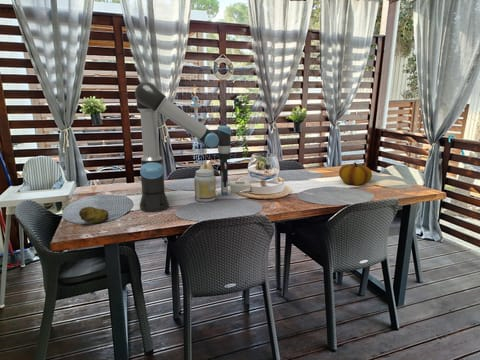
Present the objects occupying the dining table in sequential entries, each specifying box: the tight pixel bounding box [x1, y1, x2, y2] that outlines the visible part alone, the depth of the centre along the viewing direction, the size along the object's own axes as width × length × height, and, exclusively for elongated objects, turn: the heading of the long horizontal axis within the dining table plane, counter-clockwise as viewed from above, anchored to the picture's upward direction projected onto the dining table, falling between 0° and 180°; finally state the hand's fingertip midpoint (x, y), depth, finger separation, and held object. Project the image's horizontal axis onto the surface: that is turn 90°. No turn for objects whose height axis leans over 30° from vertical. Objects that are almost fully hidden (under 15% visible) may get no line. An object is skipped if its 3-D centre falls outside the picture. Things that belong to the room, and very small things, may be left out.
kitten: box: [198, 160, 215, 171], centre depth 221 cm, size 15×10×15 cm
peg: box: [220, 171, 229, 196], centre depth 196 cm, size 4×4×14 cm
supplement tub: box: [193, 168, 217, 203], centre depth 188 cm, size 12×12×17 cm
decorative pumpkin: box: [338, 161, 373, 186], centre depth 224 cm, size 20×22×15 cm
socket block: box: [229, 179, 252, 194], centre depth 208 cm, size 12×12×4 cm
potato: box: [78, 206, 109, 224], centre depth 155 cm, size 8×13×8 cm, turn 120°
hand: (224, 190), depth 198 cm, fingers closed on peg, 4 cm apart
